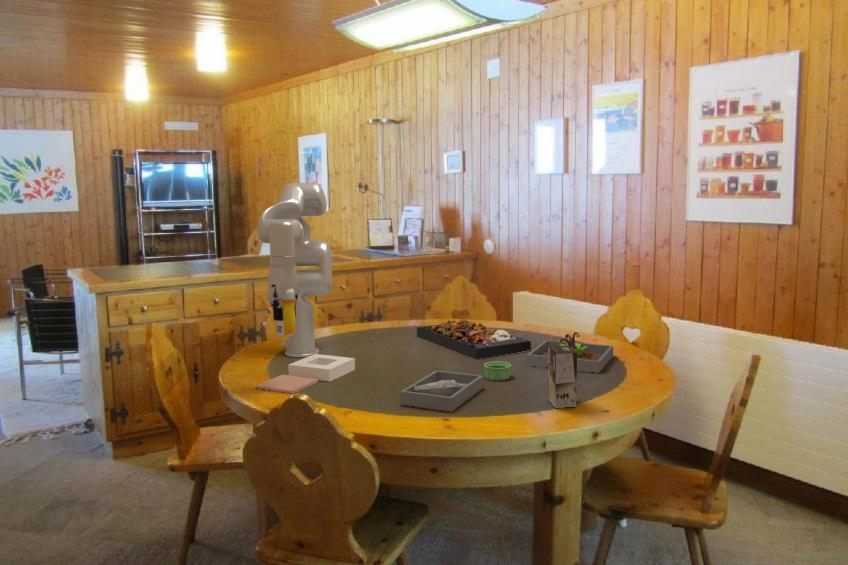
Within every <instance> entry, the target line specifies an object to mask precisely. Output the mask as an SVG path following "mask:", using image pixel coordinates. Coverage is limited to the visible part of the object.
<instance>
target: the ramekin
mask: <svg viewBox="0 0 848 565" xmlns="http://www.w3.org/2000/svg"><path fill="white" fill-rule="evenodd" d="M483 367H484V378H486V379H487V380H489V381H494V380H495V381H499V380H502V381H506V379H507V380H508V379H511V378H510V377H511V371H512V370H511V369H512V364H511V363H509V362H506V361H498V360H495V361H487V362H485V363H484V364H483ZM499 382H500V381H499Z"/></svg>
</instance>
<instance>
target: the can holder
mask: <svg viewBox="0 0 848 565" xmlns="http://www.w3.org/2000/svg"><path fill="white" fill-rule="evenodd" d="M355 361H356V359H355V358H354V357H347V356H338V355H330V354H329V355H328V354H320V353H318V354H314V355H311V356H309V357H303V358H301V359H299V360H296V361H294V362H292V363H289V364H288V367H287V369H288V375H290V376H297V377H305V378H313V379H318V381H323V382H332V381H334V380H336V379H338V378H341V377H342V376H345V375H346V374H349V373H351V372H353V371H355V370H356V362H355Z"/></svg>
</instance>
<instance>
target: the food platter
mask: <svg viewBox="0 0 848 565" xmlns="http://www.w3.org/2000/svg"><path fill="white" fill-rule="evenodd" d="M416 337H417V338H420V339H423V340H425V341H427V342H430V343H433V344H435V345H437V344H438V345H437V346H440V347H442V346H443V348H445V349H449V350H451V351H453V352H455V351H456V352H455V353H458V354H461V355H463V356H466V357H468V356H469V357H468V358H471V357H472V358H471V359H473V358H474V360H481V359H480V358H483V359H488V358H487V357H489V358H494V357H493V356H496V357H500V356H499V355H503V356H506V355H505V354H509V355H512V354H511V353H516V354H518V353H517V352H522V351H527V350H531V351H532V341H530V340H527V339H525V338H524V337H517V336H515V335H512V332H510V333H509V331H506V330H504V329H497V330H495V329H494V328H489V327H488V326H485V325H483V324H482V323H480V322H479V323H478V324H476V322H475V321H469V320H466V319H465V318H462V319H460V320H459V321H458V322H457V321H456V320H452V321H451V320H448V321H446V322H443V321H442V322H441V323H440V324H433V325H426V326H425V325H424V326H417V327H416ZM522 353H523V352H522Z"/></svg>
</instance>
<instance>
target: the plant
mask: <svg viewBox="0 0 848 565" xmlns="http://www.w3.org/2000/svg"><path fill="white" fill-rule="evenodd" d="M580 337H581V334H580V333H579V332H578V331H575V332H573V335H572V336H571V335H570V334H568V333H566V334H565V335H564V338H561V339H558V340H557V341H558V343H562V342H567V346H569V347H571V348H572V349H573V350H574V351H576V352H577V359H583V360H593V361H597V360H598V359H599V358H600V357H601V356H599V355H598V354H596V353H592V352H588V351H586V350H584V349H585V348H587V347H588V346H585V347H581V348H580V346H581V344H578V343H579V342H576V340H575V338H580ZM568 339H569V340H568ZM560 345H561V346H566V345H564V344H560ZM541 356H548V351H547V352H546V353H543V354H542V355H541Z"/></svg>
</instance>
